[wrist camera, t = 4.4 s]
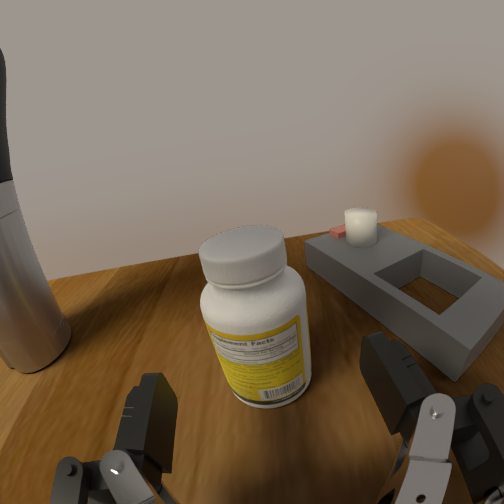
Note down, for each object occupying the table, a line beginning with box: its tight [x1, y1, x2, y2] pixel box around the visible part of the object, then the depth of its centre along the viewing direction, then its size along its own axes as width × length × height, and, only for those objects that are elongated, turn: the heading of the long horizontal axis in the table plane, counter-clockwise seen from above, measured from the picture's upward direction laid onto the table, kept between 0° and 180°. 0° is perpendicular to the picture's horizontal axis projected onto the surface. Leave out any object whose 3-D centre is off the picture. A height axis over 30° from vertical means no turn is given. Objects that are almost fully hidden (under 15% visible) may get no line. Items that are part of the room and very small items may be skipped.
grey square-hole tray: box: [304, 207, 504, 382], centre depth 20 cm, size 9×20×6 cm, turn 19°
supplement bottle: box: [199, 225, 312, 408], centre depth 14 cm, size 5×5×10 cm
